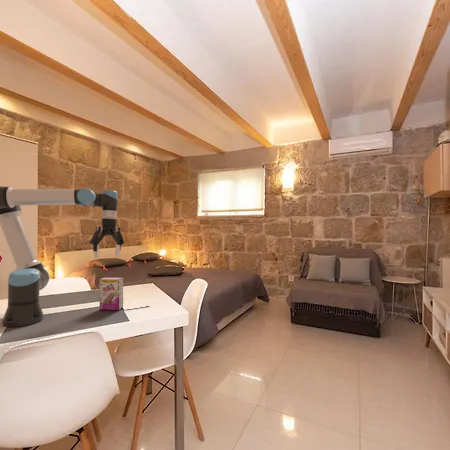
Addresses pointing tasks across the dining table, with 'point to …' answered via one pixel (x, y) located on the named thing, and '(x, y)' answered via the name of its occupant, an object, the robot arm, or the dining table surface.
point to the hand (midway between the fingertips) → (107, 256)
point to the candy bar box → (111, 293)
